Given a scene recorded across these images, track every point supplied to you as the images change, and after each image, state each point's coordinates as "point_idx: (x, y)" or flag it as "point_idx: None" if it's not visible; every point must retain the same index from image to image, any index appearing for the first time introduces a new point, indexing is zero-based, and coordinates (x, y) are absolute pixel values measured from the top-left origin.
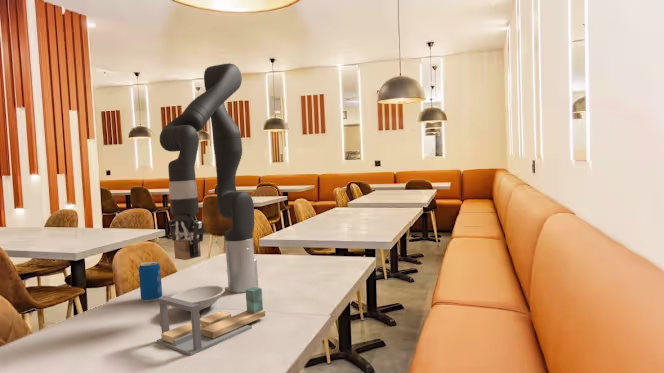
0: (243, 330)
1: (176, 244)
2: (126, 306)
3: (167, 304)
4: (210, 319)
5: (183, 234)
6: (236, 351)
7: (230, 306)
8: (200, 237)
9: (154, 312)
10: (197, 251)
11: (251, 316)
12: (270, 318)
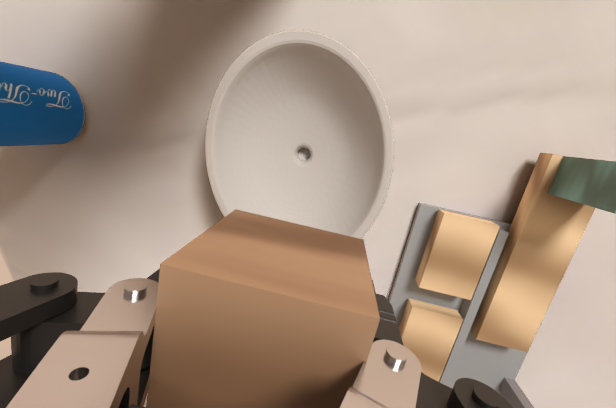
0: None
1: None
2: (53, 188)
3: None
4: (457, 279)
5: (133, 394)
6: (603, 362)
7: (388, 88)
8: None
9: (182, 207)
10: (392, 321)
11: (585, 226)
12: (602, 151)
